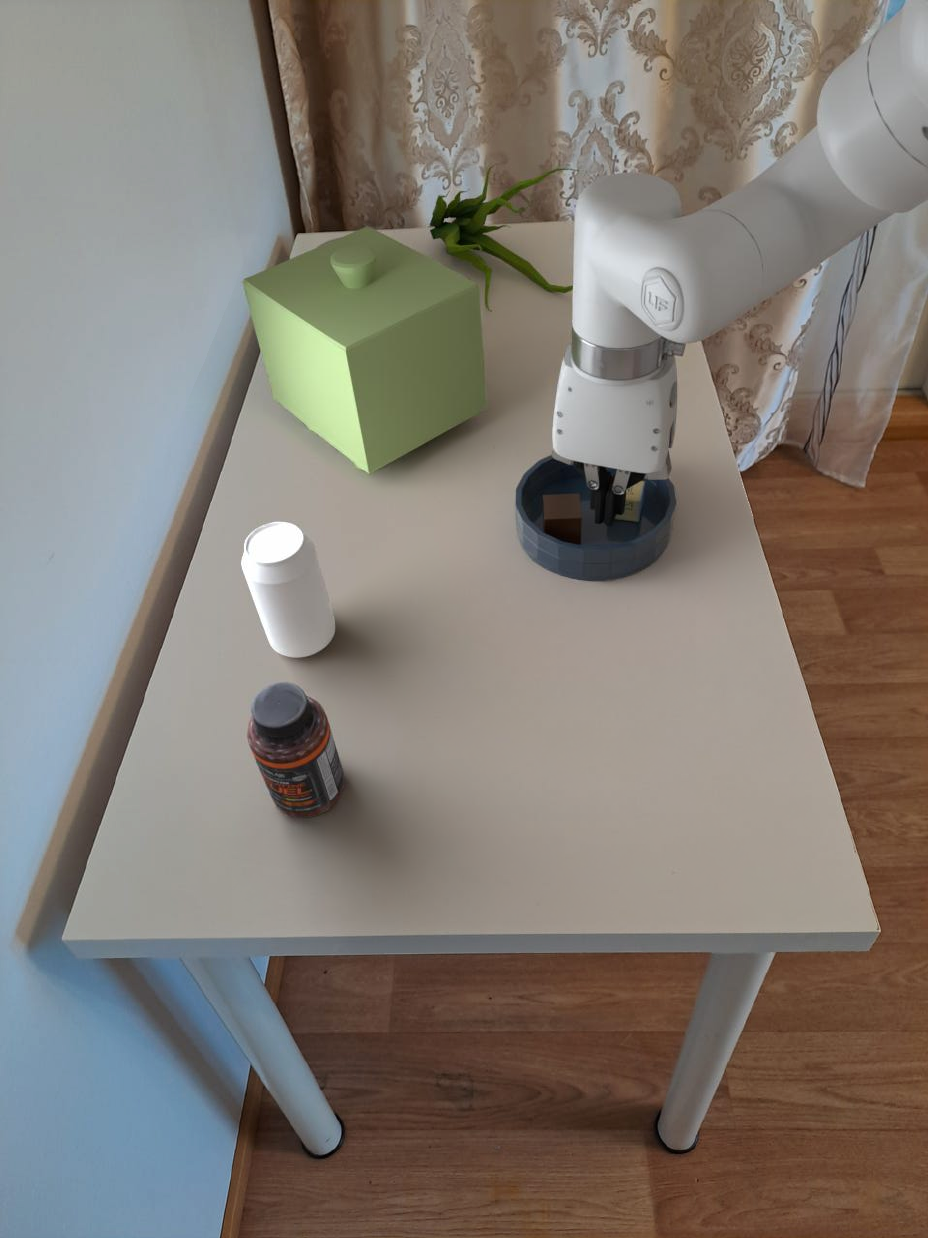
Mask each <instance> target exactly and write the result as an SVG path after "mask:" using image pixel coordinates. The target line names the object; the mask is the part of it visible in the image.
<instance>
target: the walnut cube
mask: <svg viewBox="0 0 928 1238" xmlns="http://www.w3.org/2000/svg"><path fill="white" fill-rule="evenodd" d="M543 525H544V533H546V534H548V535H550V536H552V537H554V538H556V539H558V540H560V541H563V542H567V543H572V544H577V545H581V526H582V515H581V504H580V494H557V495H543Z"/></svg>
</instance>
